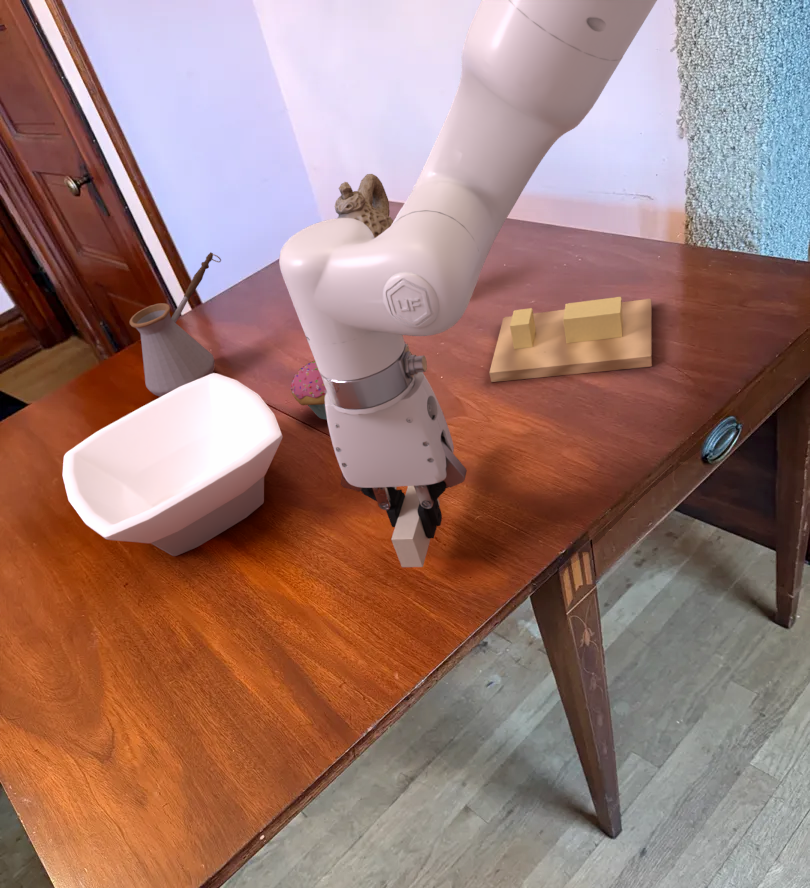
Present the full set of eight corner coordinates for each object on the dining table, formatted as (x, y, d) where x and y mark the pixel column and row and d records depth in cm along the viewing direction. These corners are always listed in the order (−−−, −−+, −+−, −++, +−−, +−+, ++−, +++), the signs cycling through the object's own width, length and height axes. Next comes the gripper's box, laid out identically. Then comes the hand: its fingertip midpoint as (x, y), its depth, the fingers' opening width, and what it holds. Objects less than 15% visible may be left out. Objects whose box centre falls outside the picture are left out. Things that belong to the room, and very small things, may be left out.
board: (651, 308, 100) (651, 298, 99) (651, 366, 91) (651, 356, 90) (505, 326, 107) (503, 317, 106) (491, 382, 98) (489, 372, 97)
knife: (423, 567, 73) (412, 538, 70) (401, 567, 73) (390, 539, 71) (456, 443, 85) (448, 415, 83) (437, 444, 86) (429, 416, 83)
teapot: (379, 294, 126) (351, 205, 116) (320, 299, 130) (289, 214, 120) (420, 236, 139) (398, 151, 129) (365, 242, 144) (340, 161, 134)
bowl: (329, 498, 89) (299, 429, 82) (140, 614, 83) (91, 550, 76) (252, 423, 106) (222, 361, 99) (91, 515, 100) (47, 456, 93)
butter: (623, 320, 97) (621, 296, 95) (622, 337, 95) (620, 312, 92) (568, 327, 100) (565, 303, 97) (566, 343, 97) (563, 319, 95)
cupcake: (374, 399, 102) (347, 321, 94) (331, 435, 99) (299, 356, 91) (333, 386, 108) (304, 311, 100) (291, 420, 104) (257, 345, 96)
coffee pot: (185, 412, 114) (136, 324, 104) (140, 402, 120) (90, 318, 110) (274, 337, 124) (238, 251, 114) (229, 331, 131) (190, 249, 121)
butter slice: (536, 331, 101) (532, 307, 99) (532, 347, 98) (528, 323, 96) (517, 333, 102) (513, 310, 100) (514, 349, 99) (509, 325, 97)
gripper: (466, 340, 63) (502, 501, 75) (297, 359, 68) (356, 506, 81) (450, 392, 58) (491, 555, 70) (269, 408, 63) (337, 557, 76)
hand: (419, 527), depth 75 cm, fingers closed on knife, 2 cm apart
